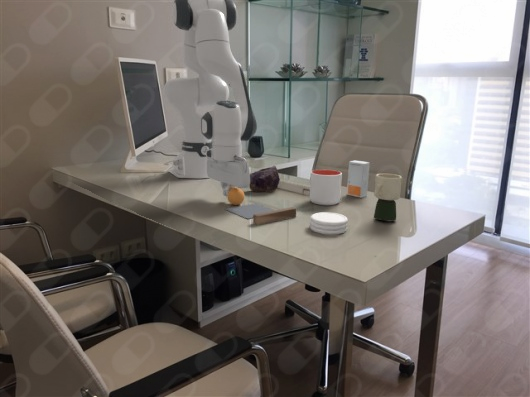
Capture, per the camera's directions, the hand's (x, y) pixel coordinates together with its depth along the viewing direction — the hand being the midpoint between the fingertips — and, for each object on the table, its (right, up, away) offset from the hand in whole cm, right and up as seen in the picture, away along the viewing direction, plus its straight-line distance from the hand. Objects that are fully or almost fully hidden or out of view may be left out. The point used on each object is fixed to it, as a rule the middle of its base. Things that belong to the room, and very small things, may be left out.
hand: (227, 196), depth 142 cm
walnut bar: (+15, -7, -18) cm, 24 cm away
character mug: (+47, -7, -16) cm, 50 cm away
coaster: (+29, -9, -24) cm, 39 cm away
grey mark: (+8, -4, -9) cm, 13 cm away
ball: (+3, 0, -3) cm, 4 cm away
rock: (+13, +2, +17) cm, 21 cm away
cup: (+32, -2, +3) cm, 32 cm away
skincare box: (+44, 0, +12) cm, 46 cm away
